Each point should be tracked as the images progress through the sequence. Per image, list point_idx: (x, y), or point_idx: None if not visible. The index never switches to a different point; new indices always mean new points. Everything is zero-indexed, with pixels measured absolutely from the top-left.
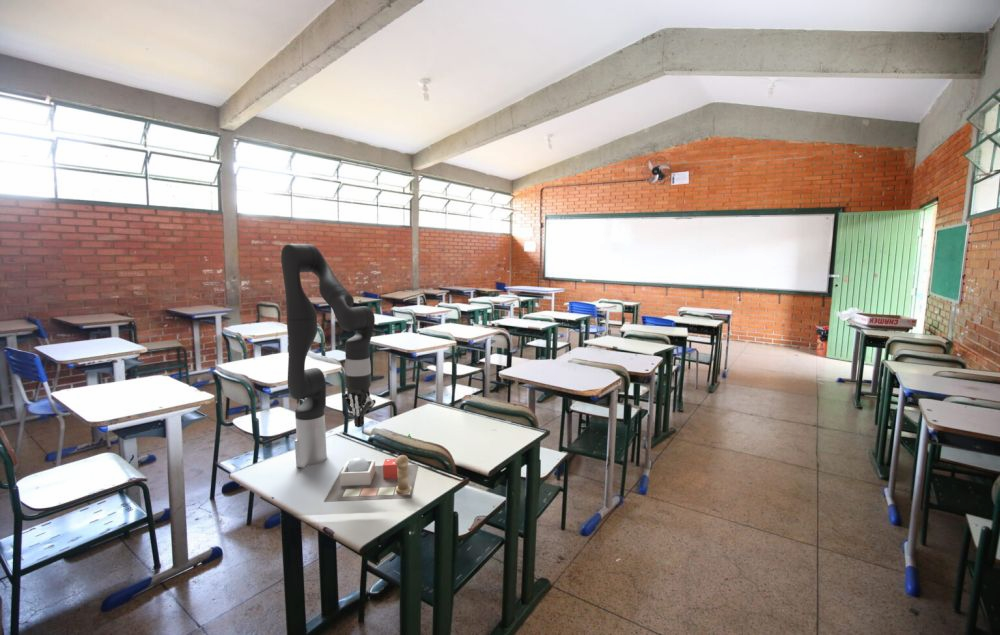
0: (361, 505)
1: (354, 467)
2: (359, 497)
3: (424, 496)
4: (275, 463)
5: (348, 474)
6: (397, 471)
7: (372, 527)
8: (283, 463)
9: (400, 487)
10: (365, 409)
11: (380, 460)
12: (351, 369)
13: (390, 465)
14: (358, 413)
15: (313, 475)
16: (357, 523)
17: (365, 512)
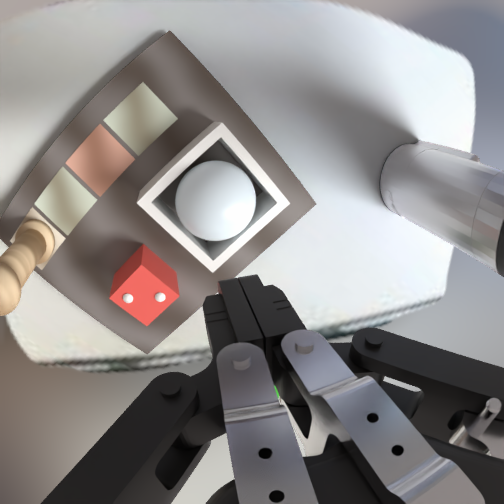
0: None
1: (198, 174)
2: (94, 119)
3: None
4: (460, 131)
5: (197, 143)
6: (16, 255)
7: None
8: (450, 140)
9: (22, 233)
10: (97, 454)
11: None
12: None
13: (123, 282)
14: (230, 371)
15: (358, 133)
16: (19, 63)
17: (41, 104)
